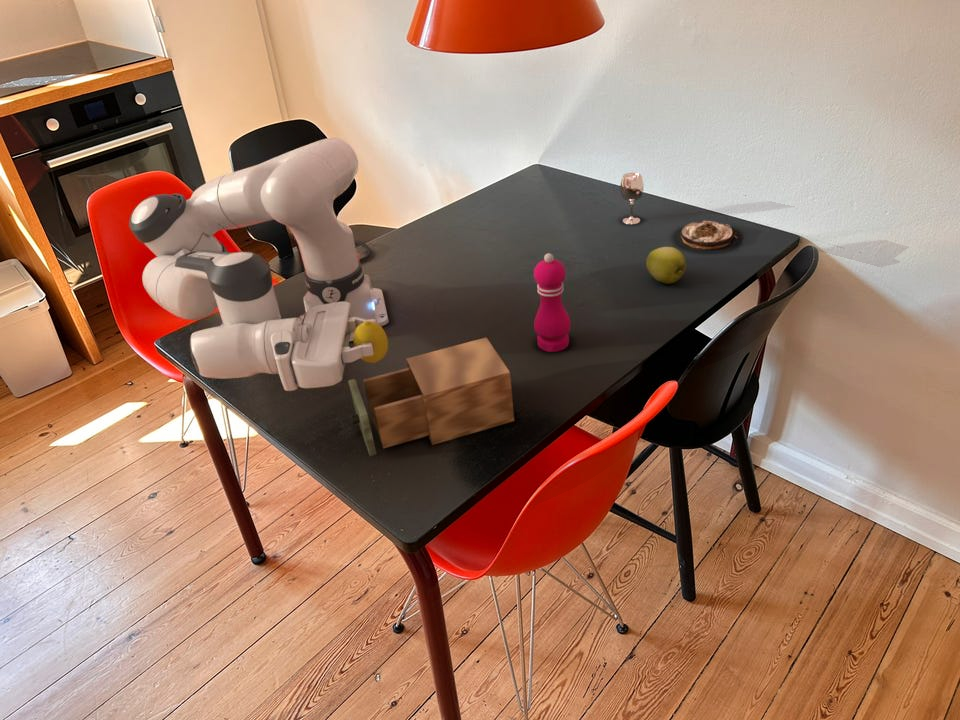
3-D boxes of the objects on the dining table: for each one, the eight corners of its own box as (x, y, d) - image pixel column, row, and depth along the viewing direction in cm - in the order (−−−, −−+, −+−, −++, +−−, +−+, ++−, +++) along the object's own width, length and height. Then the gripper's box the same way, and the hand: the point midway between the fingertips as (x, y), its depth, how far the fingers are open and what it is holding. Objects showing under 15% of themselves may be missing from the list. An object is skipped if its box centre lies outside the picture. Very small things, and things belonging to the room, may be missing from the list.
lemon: (389, 371, 125) (381, 329, 120) (355, 373, 125) (346, 332, 121) (393, 352, 129) (385, 311, 125) (361, 354, 130) (352, 313, 125)
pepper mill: (568, 332, 156) (565, 243, 145) (573, 351, 150) (570, 260, 139) (533, 335, 157) (527, 247, 145) (537, 355, 151) (531, 264, 139)
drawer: (362, 458, 129) (352, 417, 124) (351, 421, 137) (341, 382, 133) (449, 433, 132) (442, 393, 127) (431, 399, 141) (425, 359, 136)
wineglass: (616, 218, 199) (616, 174, 192) (636, 214, 200) (637, 170, 193) (626, 227, 194) (626, 182, 187) (646, 222, 195) (648, 177, 189)
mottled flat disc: (723, 259, 176) (725, 242, 174) (664, 246, 185) (665, 230, 182) (749, 234, 185) (751, 218, 183) (691, 222, 194) (692, 207, 191)
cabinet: (432, 445, 131) (423, 395, 125) (414, 405, 141) (405, 358, 135) (514, 421, 135) (510, 372, 129) (491, 384, 144) (486, 337, 138)
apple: (671, 294, 165) (673, 261, 160) (638, 281, 171) (639, 249, 166) (694, 281, 169) (696, 248, 164) (661, 268, 175) (662, 236, 170)
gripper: (304, 328, 135) (382, 320, 135) (284, 398, 118) (373, 389, 118) (296, 297, 131) (376, 288, 131) (274, 364, 114) (366, 355, 114)
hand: (375, 336), depth 124 cm, fingers closed on lemon, 5 cm apart
